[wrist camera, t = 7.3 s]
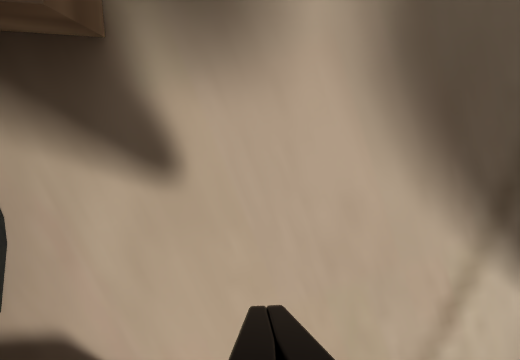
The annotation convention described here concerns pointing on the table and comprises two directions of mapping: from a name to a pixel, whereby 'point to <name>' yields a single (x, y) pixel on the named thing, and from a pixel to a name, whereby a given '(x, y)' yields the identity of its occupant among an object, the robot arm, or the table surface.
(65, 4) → the tray
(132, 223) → the table surface
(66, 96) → the table surface
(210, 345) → the table surface
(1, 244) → the sushi
